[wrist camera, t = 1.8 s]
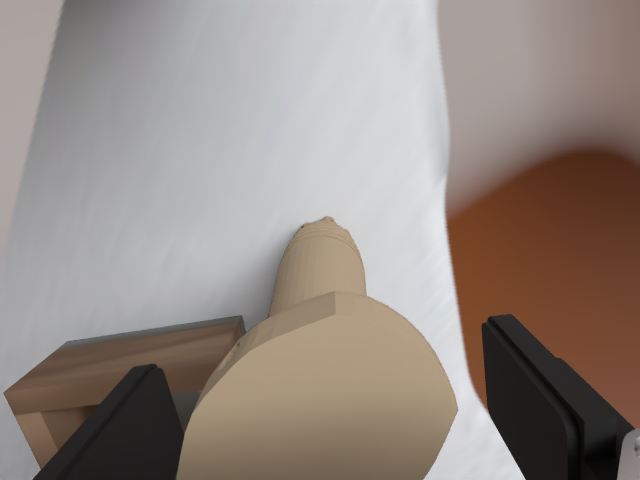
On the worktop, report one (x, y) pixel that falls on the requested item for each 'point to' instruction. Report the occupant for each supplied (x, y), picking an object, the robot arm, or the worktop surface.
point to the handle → (322, 382)
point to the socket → (115, 376)
